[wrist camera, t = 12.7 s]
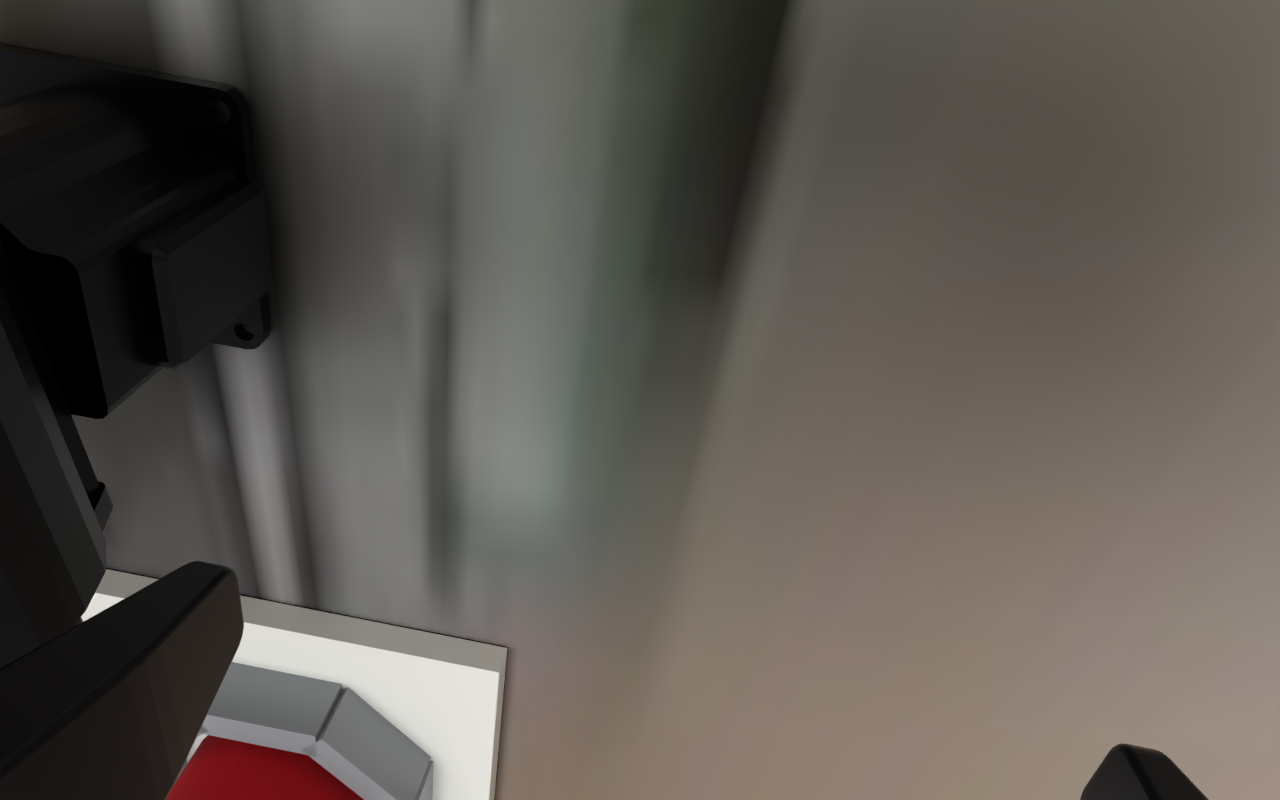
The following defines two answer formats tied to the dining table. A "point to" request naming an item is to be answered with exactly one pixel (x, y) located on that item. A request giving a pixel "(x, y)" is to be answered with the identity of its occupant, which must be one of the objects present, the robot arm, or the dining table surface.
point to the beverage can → (254, 775)
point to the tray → (357, 698)
